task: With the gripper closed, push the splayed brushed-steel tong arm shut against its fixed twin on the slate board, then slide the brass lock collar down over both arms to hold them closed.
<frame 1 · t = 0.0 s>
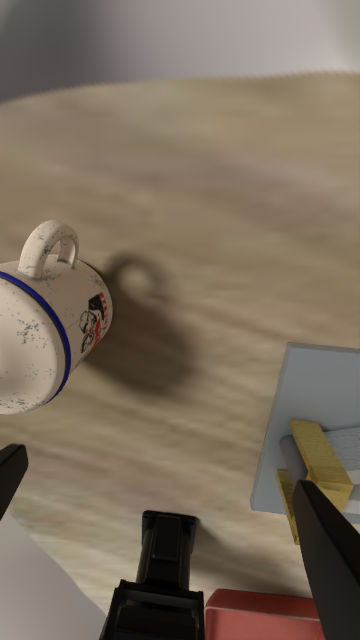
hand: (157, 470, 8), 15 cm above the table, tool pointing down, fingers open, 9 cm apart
lock collar: (307, 479, 22), point 4 cm above the table, slide at 0.0 cm
tongs base: (286, 434, 25), on the table
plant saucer: (262, 616, 38), on the table
teacup with lid: (72, 289, 22), on the table
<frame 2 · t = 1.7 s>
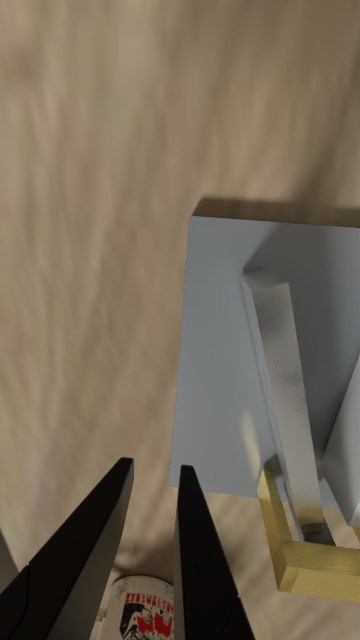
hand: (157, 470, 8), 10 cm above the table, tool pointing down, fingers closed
lock collar: (323, 527, 17), point 4 cm above the table, slide at 0.0 cm
tongs base: (292, 473, 21), on the table
tong arm: (284, 410, 15), point 3 cm above the table, hinge at 20.0°
teacup with lid: (135, 588, 29), on the table
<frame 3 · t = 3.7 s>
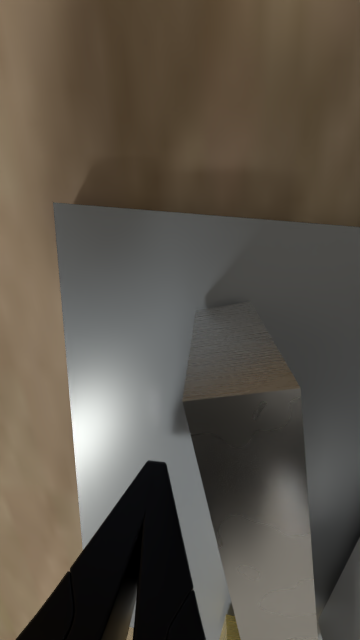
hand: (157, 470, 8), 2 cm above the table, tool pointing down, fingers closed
tongs base: (276, 607, 14), on the table
tong arm: (267, 580, 8), point 3 cm above the table, hinge at 16.4°, touching gripper
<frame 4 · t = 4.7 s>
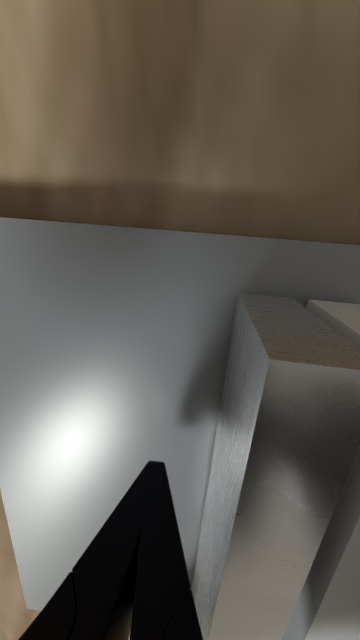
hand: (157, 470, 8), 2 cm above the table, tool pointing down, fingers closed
tongs base: (205, 598, 14), on the table
tong arm: (228, 565, 8), point 3 cm above the table, hinge at -0.3°, touching gripper
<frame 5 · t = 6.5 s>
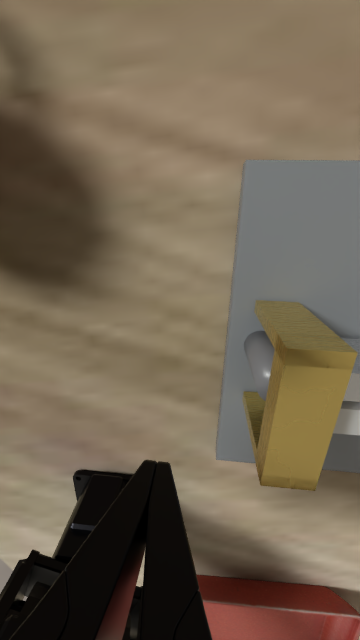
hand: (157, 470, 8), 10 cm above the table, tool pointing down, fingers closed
lock collar: (281, 383, 13), point 4 cm above the table, slide at 0.0 cm
tongs base: (257, 338, 17), on the table
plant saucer: (251, 609, 30), on the table
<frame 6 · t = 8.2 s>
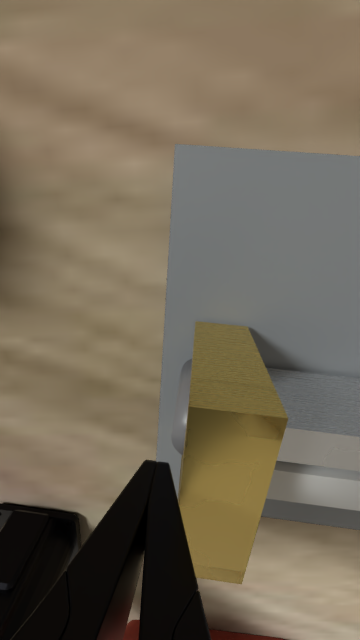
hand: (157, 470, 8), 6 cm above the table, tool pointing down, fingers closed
lock collar: (214, 431, 10), point 4 cm above the table, slide at 0.2 cm, touching gripper
tongs base: (200, 364, 14), on the table
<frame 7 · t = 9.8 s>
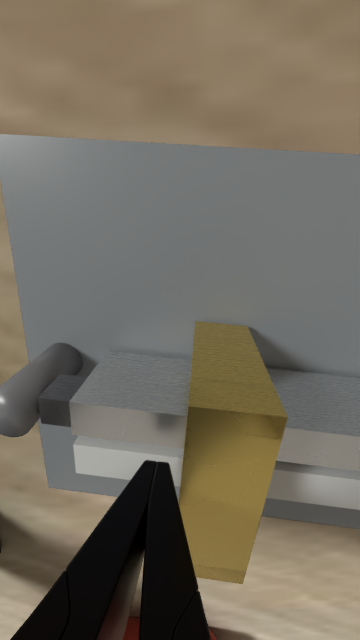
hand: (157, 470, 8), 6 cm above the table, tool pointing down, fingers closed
lock collar: (215, 431, 10), point 4 cm above the table, slide at 7.4 cm, touching gripper
tongs base: (73, 351, 15), on the table
tong arm: (250, 404, 11), point 3 cm above the table, hinge at -0.4°
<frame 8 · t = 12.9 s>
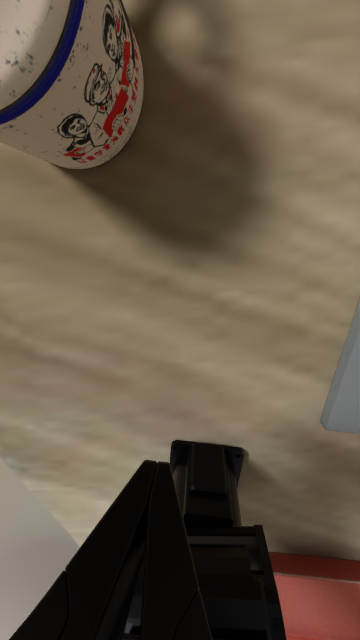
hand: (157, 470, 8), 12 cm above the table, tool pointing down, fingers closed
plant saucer: (314, 589, 30), on the table
teacup with lid: (81, 59, 15), on the table
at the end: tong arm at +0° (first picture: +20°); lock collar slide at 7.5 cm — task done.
